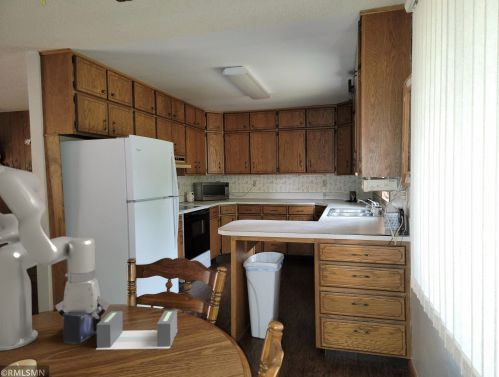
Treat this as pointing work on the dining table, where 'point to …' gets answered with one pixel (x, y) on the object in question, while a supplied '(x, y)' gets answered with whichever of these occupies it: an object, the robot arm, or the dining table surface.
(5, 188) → the robot arm
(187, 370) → the dining table surface
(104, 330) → the block
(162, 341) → the block
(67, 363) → the dining table surface
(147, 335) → the rail board
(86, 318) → the small box
